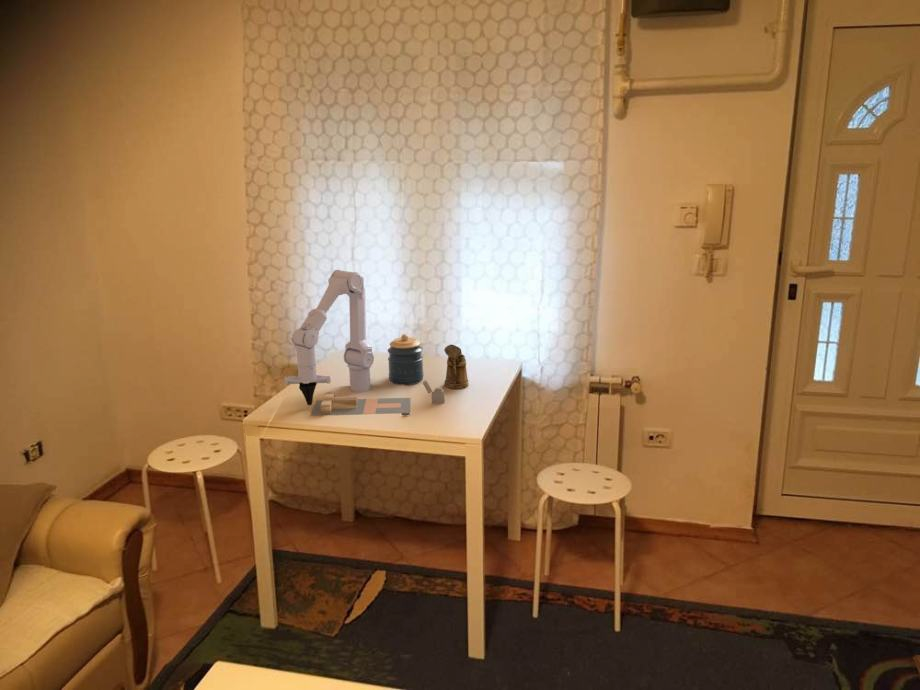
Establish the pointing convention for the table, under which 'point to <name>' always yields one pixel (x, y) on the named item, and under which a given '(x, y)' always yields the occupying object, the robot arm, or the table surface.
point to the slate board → (369, 407)
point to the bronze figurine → (455, 368)
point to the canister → (405, 361)
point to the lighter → (435, 393)
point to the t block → (337, 403)
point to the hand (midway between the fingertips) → (309, 404)
